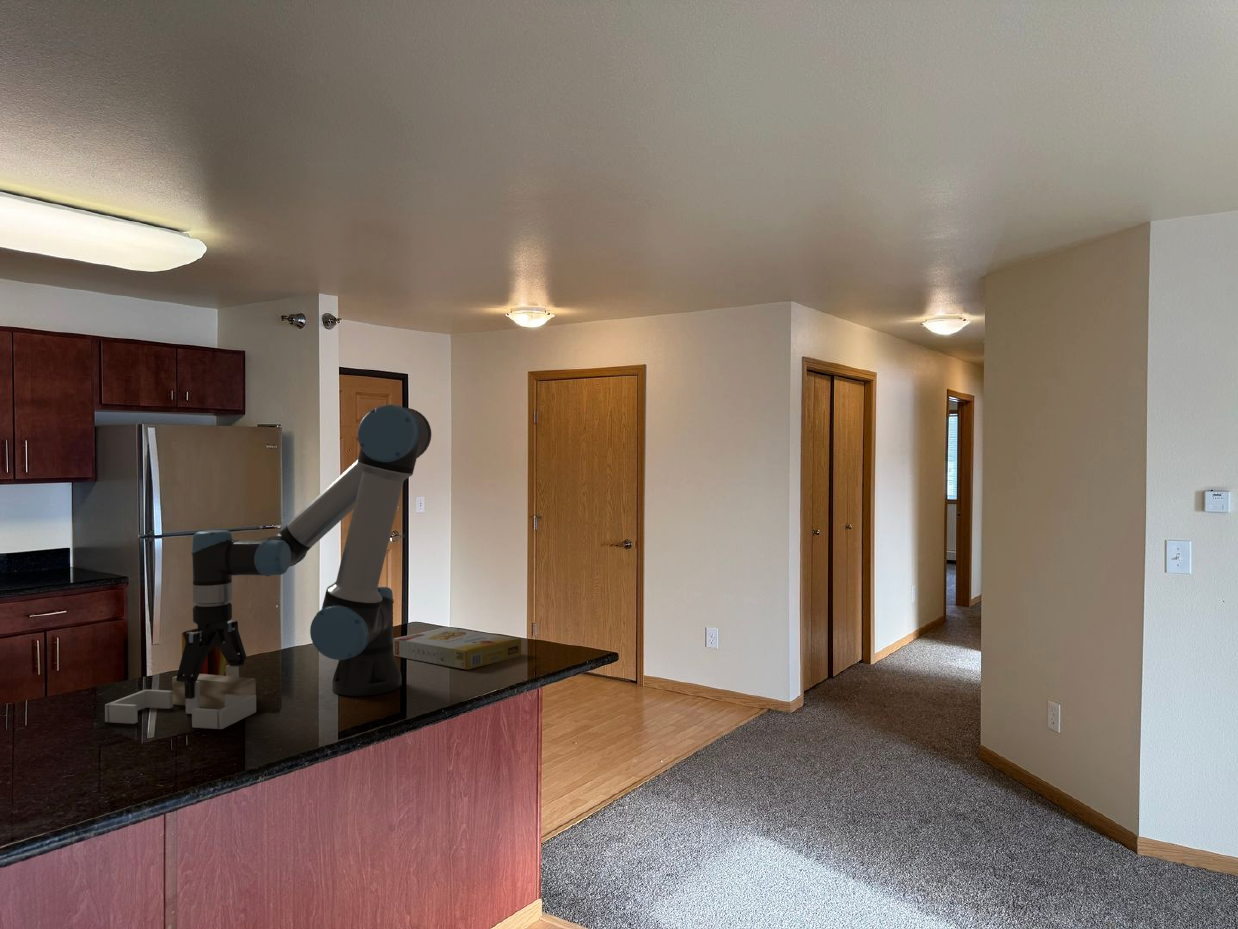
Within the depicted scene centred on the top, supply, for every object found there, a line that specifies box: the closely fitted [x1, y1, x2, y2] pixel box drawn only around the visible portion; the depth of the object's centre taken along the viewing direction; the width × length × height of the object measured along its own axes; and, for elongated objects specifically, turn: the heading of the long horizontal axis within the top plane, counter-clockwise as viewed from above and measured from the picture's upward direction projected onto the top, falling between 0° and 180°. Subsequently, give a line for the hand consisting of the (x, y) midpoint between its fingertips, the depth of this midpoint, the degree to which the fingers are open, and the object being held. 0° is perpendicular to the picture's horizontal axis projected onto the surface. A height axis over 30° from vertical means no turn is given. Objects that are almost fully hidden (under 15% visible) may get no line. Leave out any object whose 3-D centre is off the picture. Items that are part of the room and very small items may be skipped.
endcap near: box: [191, 694, 257, 730], centre depth 169 cm, size 6×11×4 cm, turn 170°
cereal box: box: [393, 626, 522, 671], centre depth 222 cm, size 20×6×28 cm
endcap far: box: [104, 688, 174, 725], centre depth 173 cm, size 6×11×4 cm, turn 169°
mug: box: [181, 628, 229, 676], centre depth 196 cm, size 10×14×12 cm
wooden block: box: [171, 674, 257, 709], centre depth 179 cm, size 18×4×6 cm, turn 73°
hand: (213, 704), depth 179 cm, fingers open, 12 cm apart
